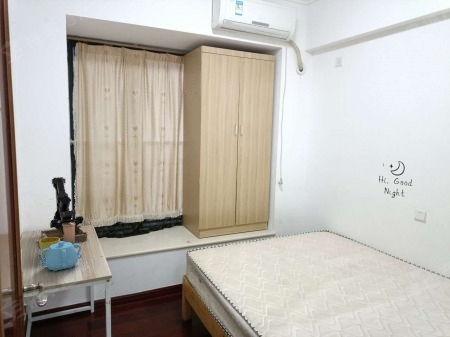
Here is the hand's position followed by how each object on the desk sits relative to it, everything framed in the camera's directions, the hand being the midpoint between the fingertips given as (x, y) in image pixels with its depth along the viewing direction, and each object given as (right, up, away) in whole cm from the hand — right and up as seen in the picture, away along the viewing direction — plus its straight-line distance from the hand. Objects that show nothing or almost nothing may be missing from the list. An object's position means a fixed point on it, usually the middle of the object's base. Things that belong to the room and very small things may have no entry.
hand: (69, 233), depth 194 cm
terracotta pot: (-1, -6, +2) cm, 7 cm away
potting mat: (0, -8, +1) cm, 8 cm away
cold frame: (-9, -7, +12) cm, 16 cm away
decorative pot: (+11, -12, -30) cm, 34 cm away
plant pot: (-3, -10, -16) cm, 19 cm away
